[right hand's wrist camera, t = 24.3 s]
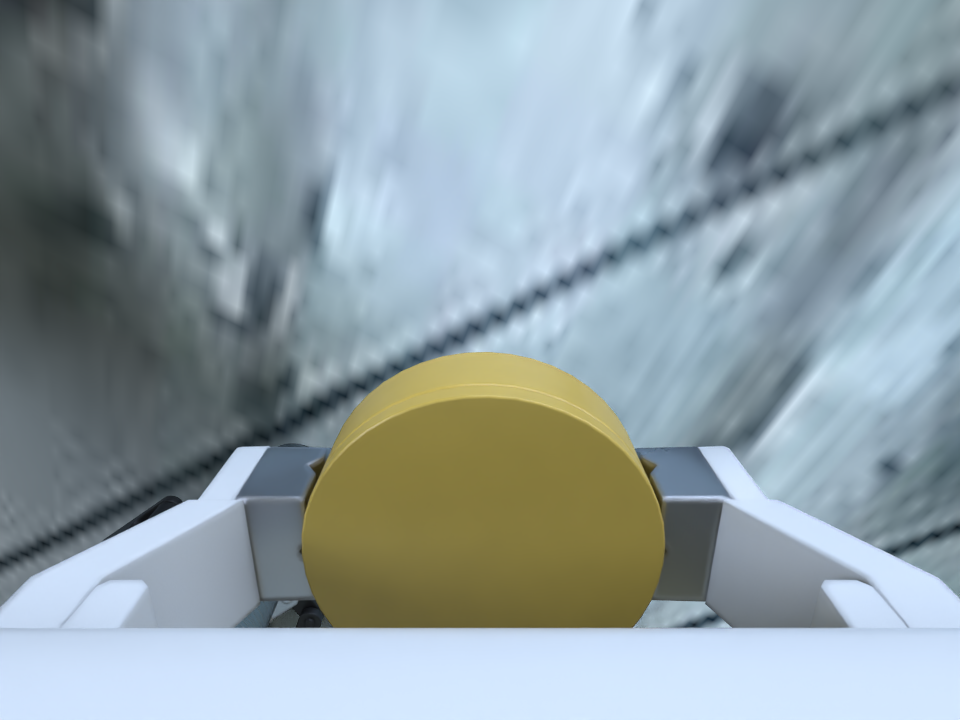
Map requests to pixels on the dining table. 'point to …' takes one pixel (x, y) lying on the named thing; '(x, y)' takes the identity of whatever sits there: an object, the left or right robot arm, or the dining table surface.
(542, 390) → the lid
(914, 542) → the dining table surface
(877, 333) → the dining table surface
